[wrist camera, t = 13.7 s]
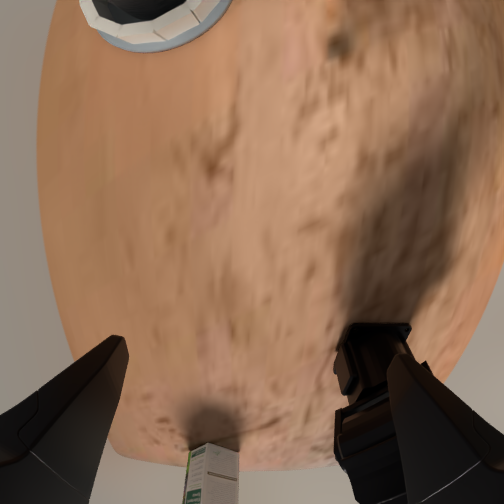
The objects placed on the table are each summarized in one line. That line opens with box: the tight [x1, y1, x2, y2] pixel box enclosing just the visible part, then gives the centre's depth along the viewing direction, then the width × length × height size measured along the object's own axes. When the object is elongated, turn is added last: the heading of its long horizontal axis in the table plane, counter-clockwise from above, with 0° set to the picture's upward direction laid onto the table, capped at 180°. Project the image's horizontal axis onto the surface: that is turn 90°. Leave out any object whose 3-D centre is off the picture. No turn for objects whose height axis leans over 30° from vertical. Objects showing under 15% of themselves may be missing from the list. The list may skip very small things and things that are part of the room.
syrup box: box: [182, 443, 239, 504], centre depth 31 cm, size 6×6×14 cm
